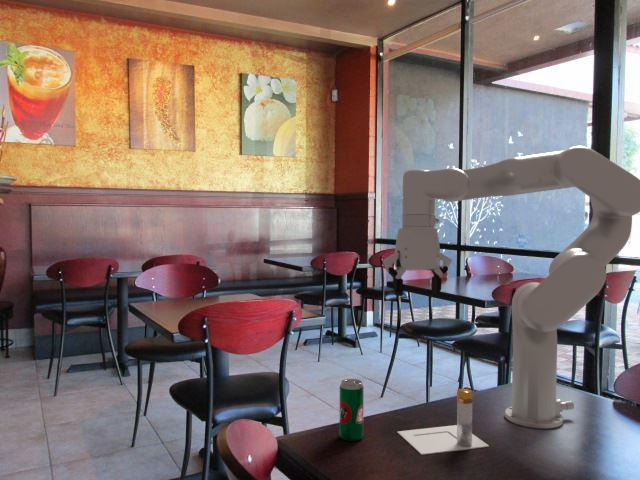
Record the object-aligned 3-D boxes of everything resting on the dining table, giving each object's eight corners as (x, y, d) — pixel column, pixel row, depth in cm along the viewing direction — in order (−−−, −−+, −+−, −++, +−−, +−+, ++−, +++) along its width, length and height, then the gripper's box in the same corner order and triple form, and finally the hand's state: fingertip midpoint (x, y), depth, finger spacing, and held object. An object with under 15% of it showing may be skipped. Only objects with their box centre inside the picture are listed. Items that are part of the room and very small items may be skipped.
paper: (459, 425, 125) (459, 424, 125) (489, 446, 114) (489, 445, 114) (397, 432, 122) (397, 431, 122) (421, 454, 110) (421, 453, 110)
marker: (467, 440, 117) (467, 388, 116) (475, 446, 114) (475, 392, 113) (453, 442, 116) (454, 389, 115) (461, 448, 113) (462, 394, 112)
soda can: (361, 443, 116) (361, 385, 115) (337, 441, 117) (337, 384, 116) (364, 433, 121) (364, 378, 120) (341, 432, 122) (341, 377, 121)
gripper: (443, 222, 138) (442, 291, 139) (378, 222, 133) (377, 293, 134) (459, 222, 131) (457, 295, 132) (390, 222, 126) (390, 298, 127)
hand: (417, 294), depth 133 cm, fingers open, 9 cm apart
